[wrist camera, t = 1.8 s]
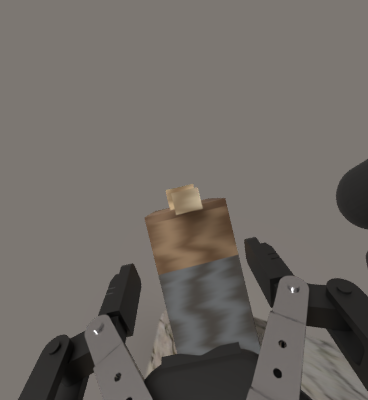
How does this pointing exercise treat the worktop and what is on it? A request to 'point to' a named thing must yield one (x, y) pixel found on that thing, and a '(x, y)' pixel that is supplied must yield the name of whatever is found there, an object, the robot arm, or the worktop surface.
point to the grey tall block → (202, 278)
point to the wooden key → (184, 199)
